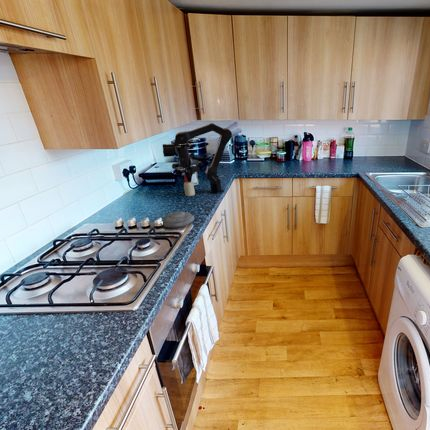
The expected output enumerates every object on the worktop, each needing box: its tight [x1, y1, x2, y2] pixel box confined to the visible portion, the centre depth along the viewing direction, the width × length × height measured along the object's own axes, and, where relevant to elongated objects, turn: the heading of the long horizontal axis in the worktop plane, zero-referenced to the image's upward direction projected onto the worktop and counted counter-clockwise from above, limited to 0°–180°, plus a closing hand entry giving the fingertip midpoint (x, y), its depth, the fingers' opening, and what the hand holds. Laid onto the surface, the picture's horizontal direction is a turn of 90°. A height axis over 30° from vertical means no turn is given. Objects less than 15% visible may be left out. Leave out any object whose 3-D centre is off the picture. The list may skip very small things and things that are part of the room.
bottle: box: [183, 181, 196, 197], centre depth 170 cm, size 6×6×11 cm
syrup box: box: [186, 165, 200, 186], centre depth 187 cm, size 6×6×14 cm
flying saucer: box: [161, 210, 195, 229], centre depth 135 cm, size 15×15×6 cm
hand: (187, 181), depth 169 cm, fingers open, 4 cm apart
